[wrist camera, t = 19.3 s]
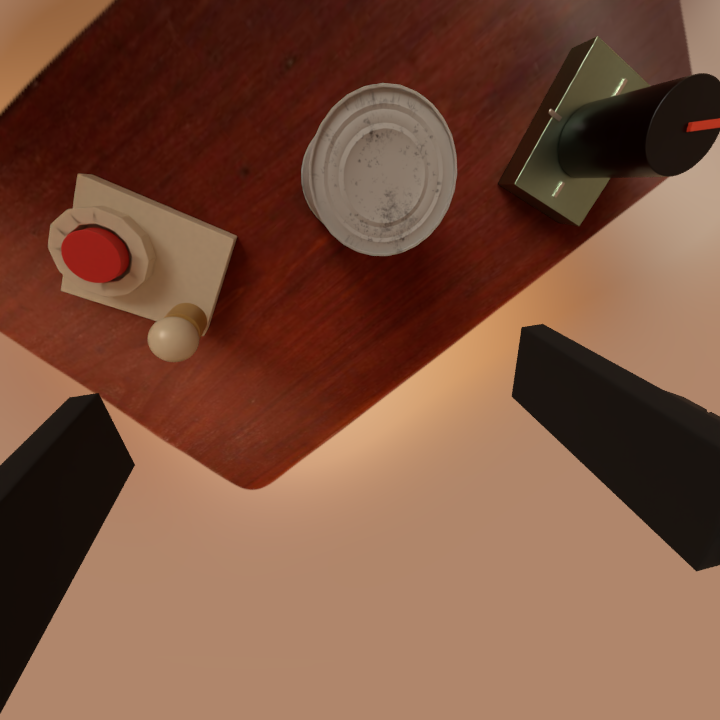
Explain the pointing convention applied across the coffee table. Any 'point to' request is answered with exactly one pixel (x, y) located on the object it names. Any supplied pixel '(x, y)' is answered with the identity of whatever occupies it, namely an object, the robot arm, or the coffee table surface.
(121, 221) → the beige button base
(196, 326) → the led lamp
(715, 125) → the dimmer knob
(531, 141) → the panel
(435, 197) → the unlabeled tin can
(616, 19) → the coffee table surface
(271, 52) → the coffee table surface
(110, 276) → the lamp button
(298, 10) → the coffee table surface
